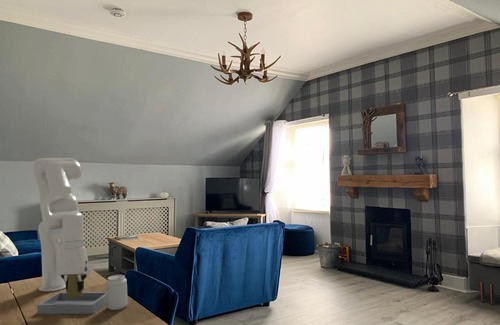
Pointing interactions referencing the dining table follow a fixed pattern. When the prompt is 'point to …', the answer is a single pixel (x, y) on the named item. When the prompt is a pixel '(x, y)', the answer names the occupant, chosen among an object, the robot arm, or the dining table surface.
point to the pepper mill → (73, 287)
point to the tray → (73, 303)
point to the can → (116, 292)
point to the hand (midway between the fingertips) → (74, 290)
